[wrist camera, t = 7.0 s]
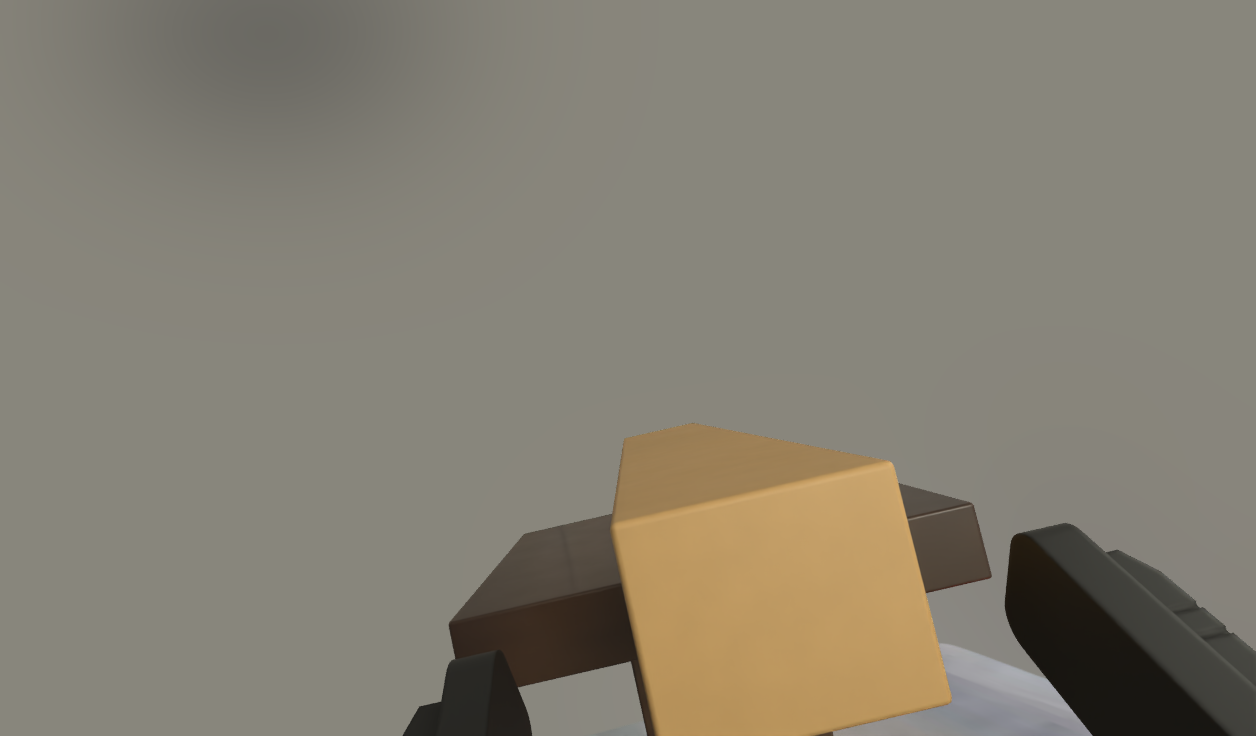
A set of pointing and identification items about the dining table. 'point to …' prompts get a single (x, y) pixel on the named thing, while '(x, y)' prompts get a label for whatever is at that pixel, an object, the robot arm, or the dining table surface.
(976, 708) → the dining table surface
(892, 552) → the slim box
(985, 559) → the walnut stand
